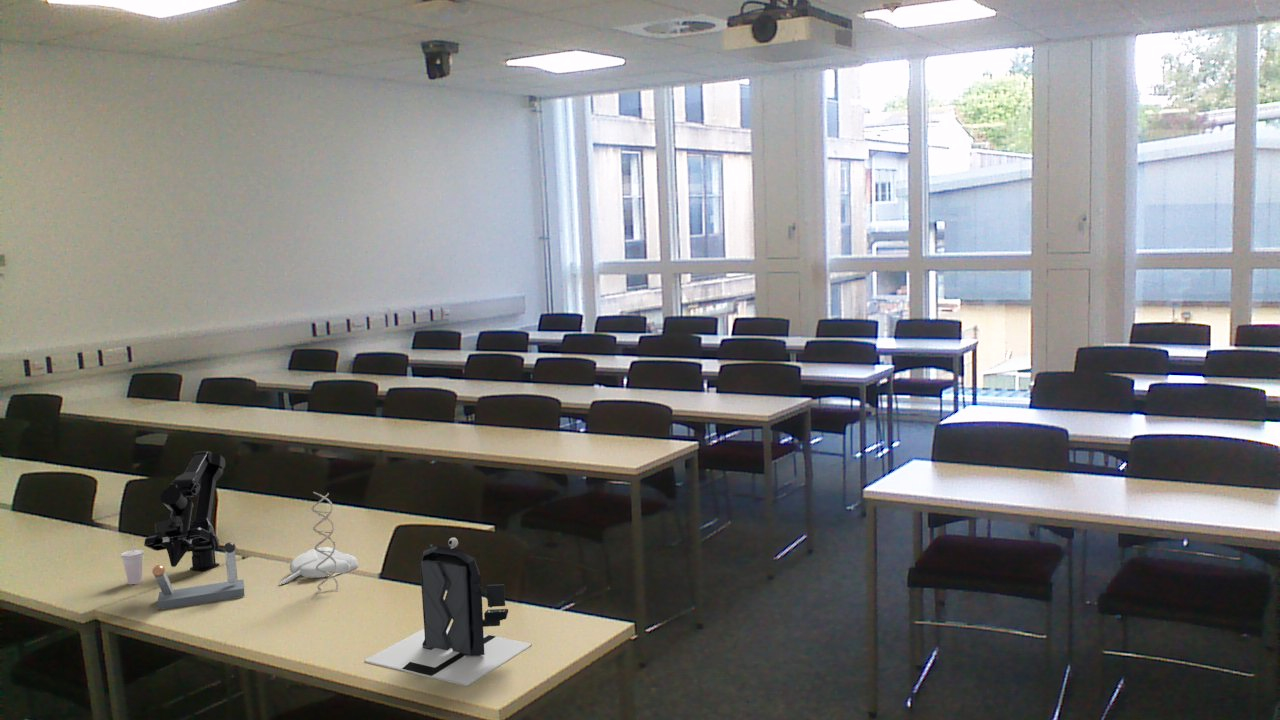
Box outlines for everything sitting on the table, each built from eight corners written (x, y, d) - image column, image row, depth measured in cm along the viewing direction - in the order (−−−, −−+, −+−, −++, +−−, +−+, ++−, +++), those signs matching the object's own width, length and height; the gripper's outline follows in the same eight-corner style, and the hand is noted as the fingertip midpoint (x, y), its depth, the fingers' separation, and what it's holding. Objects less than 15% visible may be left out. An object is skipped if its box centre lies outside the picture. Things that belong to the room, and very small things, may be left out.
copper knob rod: (164, 588, 282) (152, 563, 274) (175, 588, 283) (164, 562, 275) (161, 598, 280) (149, 572, 272) (173, 597, 280) (161, 571, 272)
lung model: (365, 566, 310) (300, 597, 290) (330, 559, 320) (265, 589, 300) (361, 546, 309) (296, 577, 289) (326, 540, 319) (261, 569, 299)
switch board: (160, 600, 285) (159, 591, 285) (244, 587, 294) (243, 579, 294) (158, 610, 277) (157, 601, 277) (244, 596, 286) (243, 588, 285)
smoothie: (150, 579, 305) (146, 536, 303) (138, 586, 298) (134, 542, 297) (131, 579, 305) (127, 536, 304) (119, 586, 299) (114, 542, 297)
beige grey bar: (225, 582, 289) (222, 542, 287) (236, 579, 291) (233, 540, 289) (228, 584, 286) (225, 544, 285) (239, 582, 288) (236, 542, 287)
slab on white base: (364, 662, 236) (356, 549, 233) (433, 626, 258) (427, 522, 255) (467, 687, 221) (461, 566, 218) (531, 646, 243) (526, 535, 240)
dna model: (312, 593, 287) (304, 494, 283) (326, 585, 293) (319, 489, 289) (330, 595, 284) (322, 495, 281) (344, 588, 290) (337, 490, 287)
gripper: (135, 513, 290) (127, 563, 283) (191, 502, 287) (184, 553, 280) (160, 525, 300) (152, 574, 292) (214, 515, 297) (207, 564, 289)
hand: (173, 566), depth 288 cm, fingers closed
